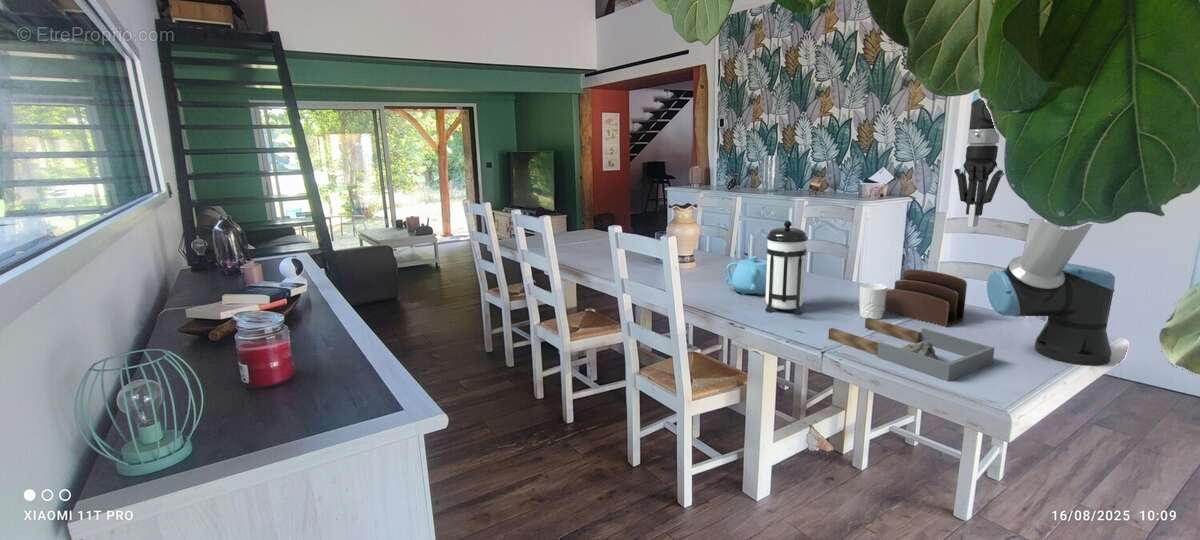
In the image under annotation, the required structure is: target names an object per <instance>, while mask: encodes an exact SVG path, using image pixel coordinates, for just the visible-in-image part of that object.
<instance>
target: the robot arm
mask: <svg viewBox="0 0 1200 540" xmlns="http://www.w3.org/2000/svg"><path fill="white" fill-rule="evenodd" d="M970 106H971V107H970V117H969V125H968V126H969V127H968V133H967V134H968V136H967V144H968V146H967V147H966V149H965V151H966V152H965V161H964V162H963V166H961V167H959V168H955V169H954V173H955V176H956V179H957V185H958V193H959V201H961V202H963V203H966V210H965V215H967V216H968V217H967V225H966V226H967V227H969V228H974V227H978V224H979V217H980V216H982V215H983V211H984V205H986V204H988V203H991V202H993V198H994V196H995V193H996V191H997V188H998V186H999V184H1000V182H1001V179H1002V177H1003V176H1004V175H1005V174H1004V173H1003V170H1004V169H1001V168H1000V167H999V166H998V163H997V157H998V152H999V146H998V145H997V144H998V143H1000V136H999V134H998V133H997V132H996V130H995V128H994V125H993V122H992V119H991V115H990V113H989V111H988V109H987V108H986V105H985V103H984V101H983V100H981V99H980V98H979V97H978V93H977V92H975V91H974V92H973V96H972V100H971V104H970ZM966 173H967V175H968V178H967V175H966ZM990 175H992V176H991V179H990V181H989V176H990ZM967 179H968V180H967ZM988 181H989V184H988ZM1093 224H1094V223H1093ZM1093 224H1086V225H1084V226H1081V227H1079V228H1077V229H1074V230H1070V231H1069V230H1065V229H1059V228H1057V227H1055V226H1053V225H1051V224H1049V223H1047V222H1045V221H1044V220H1043V219H1042V220H1041V222H1040V223H1039V225H1038V227H1037V229H1036V231H1035V233H1034V234H1033V236H1032V238H1031V239H1030V241H1029V243H1028V245H1027V246H1026V248H1025V250H1024V251H1023V253H1022V255H1020V256H1016V257H1014V258H1012V259H1011V260H1010V261H1009V263H1008V265H1007V266H1006V268H1005V269H1004V270H1001V269H999V270H994V271H993V272H991V273H990V274H989V276H988V278H987V282H986V291H987V292H986V293H987V297H988V301H989V303H990V305H991V307H992V309H993V310H994V311H995V312H996V313H998V314H999V315H1001V316H1007V317H1015V318H1017V317H1018V318H1019V317H1047V321H1046V323H1045V324H1044V326H1043V327H1042V329H1041V331H1040V333H1039V334H1038V336H1037V337H1036V339H1035V343H1034V351H1036V352H1038V353H1039V354H1041V355H1043V356H1045V357H1046V358H1049V359H1053V360H1057V361H1060V362H1061V361H1062V362H1064V363H1065V362H1066V363H1071V364H1078V365H1086V366H1087V365H1090V366H1100V365H1105V364H1109V363H1110V361H1111V357H1112V351H1111V350H1112V349H1111V345H1110V341H1109V337H1108V332H1107V327H1108V323H1109V317H1110V311H1111V306H1112V302H1113V301H1112V300H1113V297H1114V295H1113V294H1114V292H1115V290H1116V289H1115V284H1116V283H1115V282H1116V278H1115V276H1114V274H1113V273H1112V272H1109V271H1108V270H1104V269H1100V268H1096V267H1091V266H1087V265H1081V264H1074V263H1069V261H1070V260H1071V258H1072V257H1073V255H1074V254H1075V252H1076V251H1077V249H1078V247H1080V245H1081V243H1082V242H1083V240H1084V239H1085V237H1086V235H1087V234H1088V232H1089V231H1090V230H1091V228H1092V227H1093Z"/></svg>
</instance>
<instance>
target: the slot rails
mask: <svg viewBox="0 0 1200 540" xmlns="http://www.w3.org/2000/svg"><path fill="white" fill-rule="evenodd" d="M866 328H867V329H868V330H869V331H873V330H874V332H876V331H877V333H880V334H883V333H884V335H887V336H890V337H894V338H897V339H900V340H904V341H907V342H911V343H912V344H915V343H919V342H920V338H921V331H917V330H914V329H911V328H907V327H903V326H900V325H896V324H892V323H889V322H886V321H882V320H880V319H872V318H865V323H864V329H866ZM830 339H831V341H833V340H834V341H833V342H836V341H837V343H839V342H840V344H842V343H843V344H842V345H845V344H846V345H845V346H848V345H849V347H851V346H852V348H854V347H855V348H854V349H857V350H859V351H863V352H866V353H868V354H872V355H875V356H877V355H878V344H879V342H878V341H875V340H871V339H869V338H865V337H862V336H860V335H855V334H853V333H850V332H846V331H844V330H840V329H837V328H834V327H831V328H829V329H828V340H830Z"/></svg>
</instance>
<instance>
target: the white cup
mask: <svg viewBox="0 0 1200 540" xmlns="http://www.w3.org/2000/svg"><path fill="white" fill-rule="evenodd" d="M887 290H888V286H887V285H884V284H881V283H874V282H867V283H866V282H865V283H861V284H859V293H858V294H859V295H858V297H859V299H858V304H859V306H858V307H859V317H861V318H863V319H866V318H872V319H875V320H881V319H882V318H884V317H883V316H884V310H885V300H886V293H887Z"/></svg>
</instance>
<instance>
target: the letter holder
mask: <svg viewBox="0 0 1200 540" xmlns="http://www.w3.org/2000/svg"><path fill="white" fill-rule="evenodd" d="M967 286H968V282H967V281H966V280H965V279H964V278H961V277H958V276H954V275H950V274H946V273H942V272H937V271H931V270H924V269H913V268H912V269H911V268H910V269H909V268H908V269H907V268H906V269H904V270H903V272H902V279H897V280H895V281H894V286H893V288H887V293H886V300H885V306H884V310H883V312H885V311H886V313H888V312H889V313H890V314H892V313H894V314H893V315H896V314H897V316H900V315H901V317H904V316H905V318H908V317H909V319H912V318H913V319H912V320H916V319H917V321H920V320H921V322H924V321H925V322H924V323H928V322H930V323H929V324H932V323H934V324H933V325H936V324H938V325H937V326H940V325H941V326H940V327H943V326H945V327H944V328H947V327H950V325H951V326H954V325H956V323H957V324H959V323H962V322H964V318H965V316H964V315H965V306H966V298H967V290H968V289H967ZM889 313H888V314H889ZM953 324H954V325H953Z"/></svg>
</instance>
